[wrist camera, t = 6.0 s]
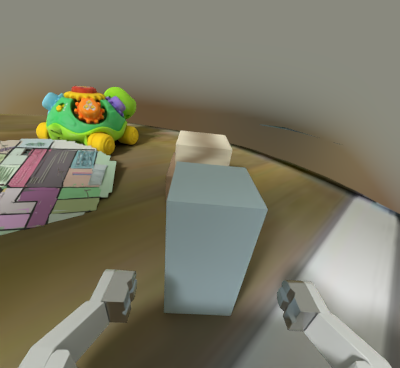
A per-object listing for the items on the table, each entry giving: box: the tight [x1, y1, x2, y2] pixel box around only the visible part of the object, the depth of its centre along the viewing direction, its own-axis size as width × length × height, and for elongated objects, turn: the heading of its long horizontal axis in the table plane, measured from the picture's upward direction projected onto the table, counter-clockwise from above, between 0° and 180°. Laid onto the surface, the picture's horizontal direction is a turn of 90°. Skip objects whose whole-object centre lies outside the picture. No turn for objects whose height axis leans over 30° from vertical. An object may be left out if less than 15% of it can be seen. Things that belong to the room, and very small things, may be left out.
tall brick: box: [164, 161, 268, 316], centre depth 14 cm, size 5×5×10 cm
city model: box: [0, 139, 116, 235], centre depth 24 cm, size 25×23×6 cm
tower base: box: [166, 131, 232, 202], centre depth 28 cm, size 9×9×8 cm
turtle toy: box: [36, 86, 139, 155], centre depth 42 cm, size 17×23×12 cm
